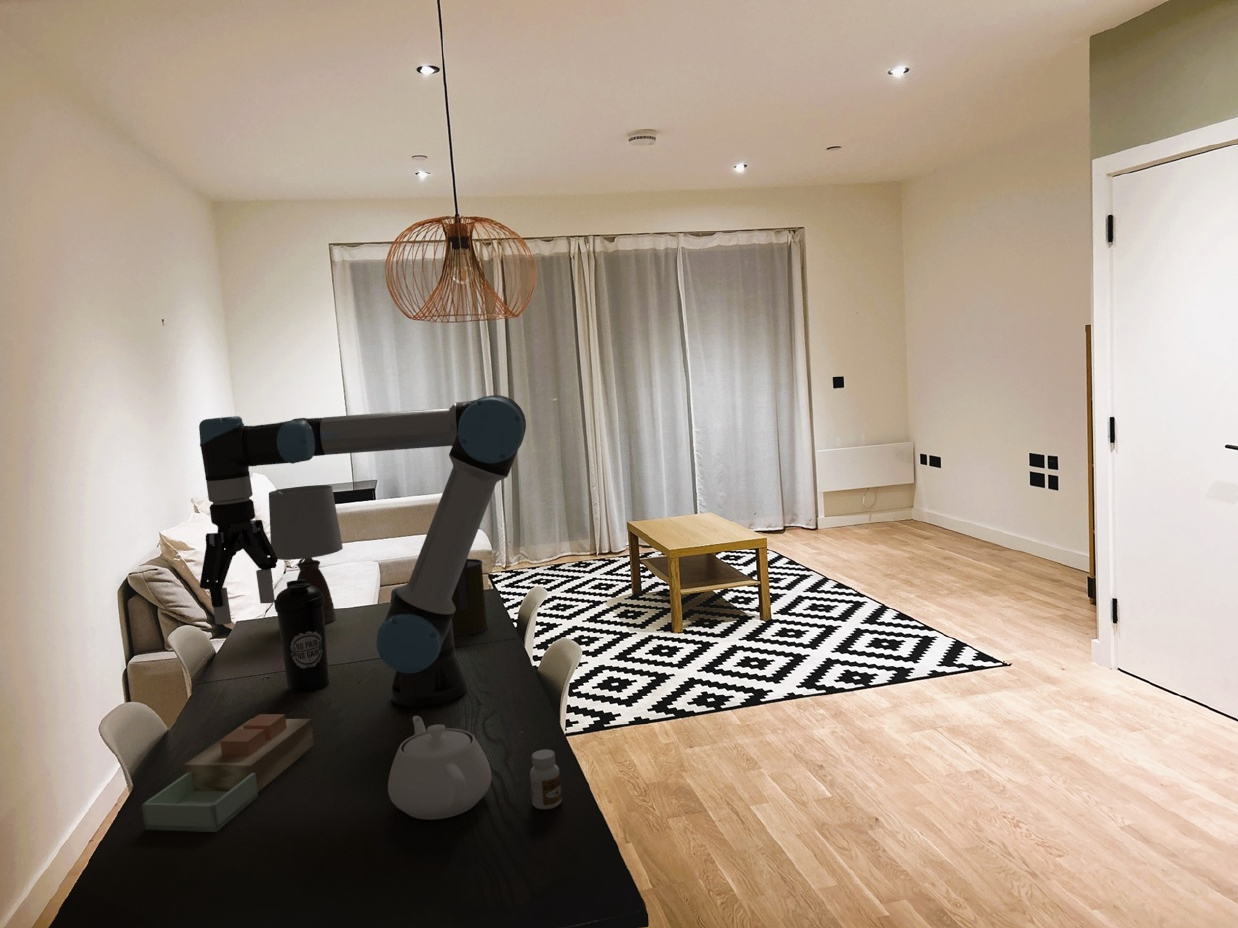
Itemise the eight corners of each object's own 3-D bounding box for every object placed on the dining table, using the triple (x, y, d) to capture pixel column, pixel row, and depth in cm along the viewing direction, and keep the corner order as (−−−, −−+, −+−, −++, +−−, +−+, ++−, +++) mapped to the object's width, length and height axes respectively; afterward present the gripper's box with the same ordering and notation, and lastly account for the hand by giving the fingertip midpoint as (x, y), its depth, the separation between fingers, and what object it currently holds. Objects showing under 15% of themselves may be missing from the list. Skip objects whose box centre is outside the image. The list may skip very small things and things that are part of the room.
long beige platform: (313, 745, 166) (311, 718, 165) (254, 794, 147) (250, 765, 147) (254, 744, 168) (250, 718, 167) (187, 793, 149) (184, 764, 149)
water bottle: (287, 697, 192) (275, 591, 190) (281, 684, 201) (269, 582, 199) (337, 687, 197) (325, 582, 194) (328, 674, 206) (317, 574, 203)
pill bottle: (550, 812, 135) (546, 762, 134) (526, 806, 137) (522, 757, 136) (567, 799, 138) (563, 750, 137) (544, 794, 141) (540, 745, 140)
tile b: (266, 743, 155) (264, 729, 155) (249, 755, 151) (247, 741, 150) (239, 742, 156) (237, 728, 156) (221, 755, 152) (220, 741, 151)
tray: (258, 796, 147) (255, 772, 146) (216, 831, 136) (213, 806, 135) (191, 795, 149) (188, 771, 148) (145, 829, 138) (141, 804, 138)
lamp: (363, 613, 257) (350, 484, 253) (317, 633, 240) (302, 494, 236) (312, 610, 265) (299, 484, 261) (264, 629, 248) (248, 495, 244)
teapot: (516, 821, 133) (510, 740, 132) (410, 851, 126) (403, 766, 125) (464, 760, 155) (459, 690, 154) (372, 783, 148) (366, 710, 147)
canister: (448, 626, 239) (441, 551, 237) (488, 622, 240) (482, 547, 238) (445, 638, 228) (438, 559, 226) (487, 633, 229) (480, 555, 227)
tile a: (286, 727, 162) (285, 714, 162) (270, 739, 157) (269, 725, 157) (260, 727, 163) (259, 714, 162) (244, 739, 158) (242, 725, 158)
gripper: (253, 491, 181) (267, 595, 184) (166, 514, 157) (184, 633, 159) (287, 489, 180) (301, 594, 182) (204, 511, 155) (222, 632, 158)
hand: (246, 612), depth 171 cm, fingers open, 13 cm apart
